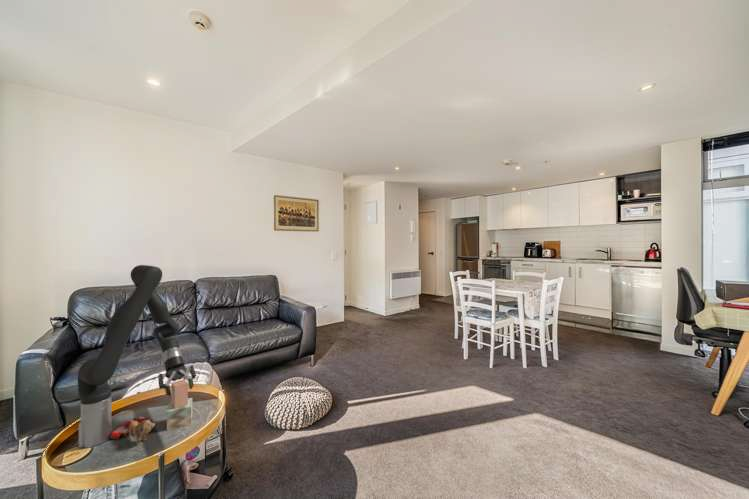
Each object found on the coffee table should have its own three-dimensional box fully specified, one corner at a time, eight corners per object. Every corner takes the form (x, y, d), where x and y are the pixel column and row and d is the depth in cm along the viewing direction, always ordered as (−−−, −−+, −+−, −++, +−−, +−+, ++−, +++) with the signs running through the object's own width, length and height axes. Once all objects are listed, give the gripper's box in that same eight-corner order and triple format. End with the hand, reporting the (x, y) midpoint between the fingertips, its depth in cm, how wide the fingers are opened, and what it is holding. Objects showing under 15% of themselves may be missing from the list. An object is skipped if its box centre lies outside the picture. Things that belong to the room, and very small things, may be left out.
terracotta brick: (174, 408, 131) (174, 386, 131) (171, 404, 134) (171, 382, 134) (187, 404, 135) (187, 382, 135) (184, 400, 138) (184, 379, 138)
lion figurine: (156, 439, 122) (156, 418, 122) (143, 447, 117) (143, 425, 117) (132, 432, 127) (132, 411, 127) (118, 440, 122) (118, 418, 122)
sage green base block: (166, 430, 128) (166, 411, 128) (169, 419, 136) (169, 402, 136) (191, 424, 133) (191, 406, 133) (192, 414, 141) (192, 397, 141)
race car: (115, 442, 121) (114, 432, 121) (107, 439, 123) (107, 429, 123) (149, 424, 133) (149, 415, 133) (141, 421, 135) (141, 412, 135)
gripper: (156, 359, 134) (163, 393, 127) (191, 351, 145) (200, 382, 137) (153, 368, 138) (160, 401, 130) (188, 359, 148) (196, 389, 141)
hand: (180, 391), depth 134 cm, fingers open, 8 cm apart
